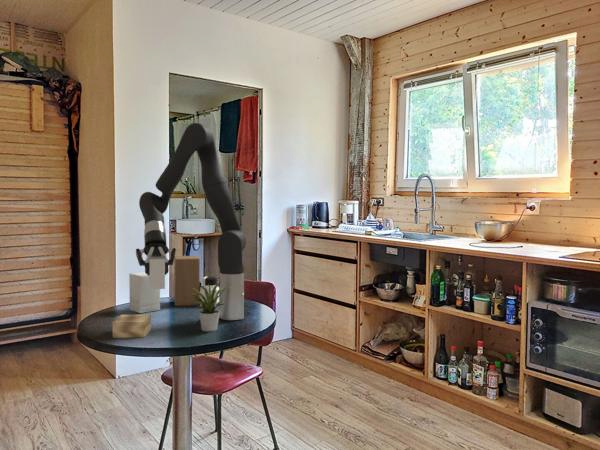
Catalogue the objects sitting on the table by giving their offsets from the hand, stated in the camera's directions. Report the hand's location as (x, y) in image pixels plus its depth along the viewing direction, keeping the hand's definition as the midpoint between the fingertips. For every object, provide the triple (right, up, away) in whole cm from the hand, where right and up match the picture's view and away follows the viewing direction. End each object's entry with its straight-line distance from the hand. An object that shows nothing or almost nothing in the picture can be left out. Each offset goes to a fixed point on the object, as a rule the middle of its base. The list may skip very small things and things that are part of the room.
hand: (157, 273), depth 160 cm
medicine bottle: (+10, -18, +40) cm, 45 cm away
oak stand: (-7, -19, -4) cm, 21 cm away
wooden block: (0, -17, +42) cm, 45 cm away
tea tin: (-1, -5, +2) cm, 6 cm away
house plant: (+18, -20, +3) cm, 27 cm away
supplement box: (-14, -18, +28) cm, 36 cm away
